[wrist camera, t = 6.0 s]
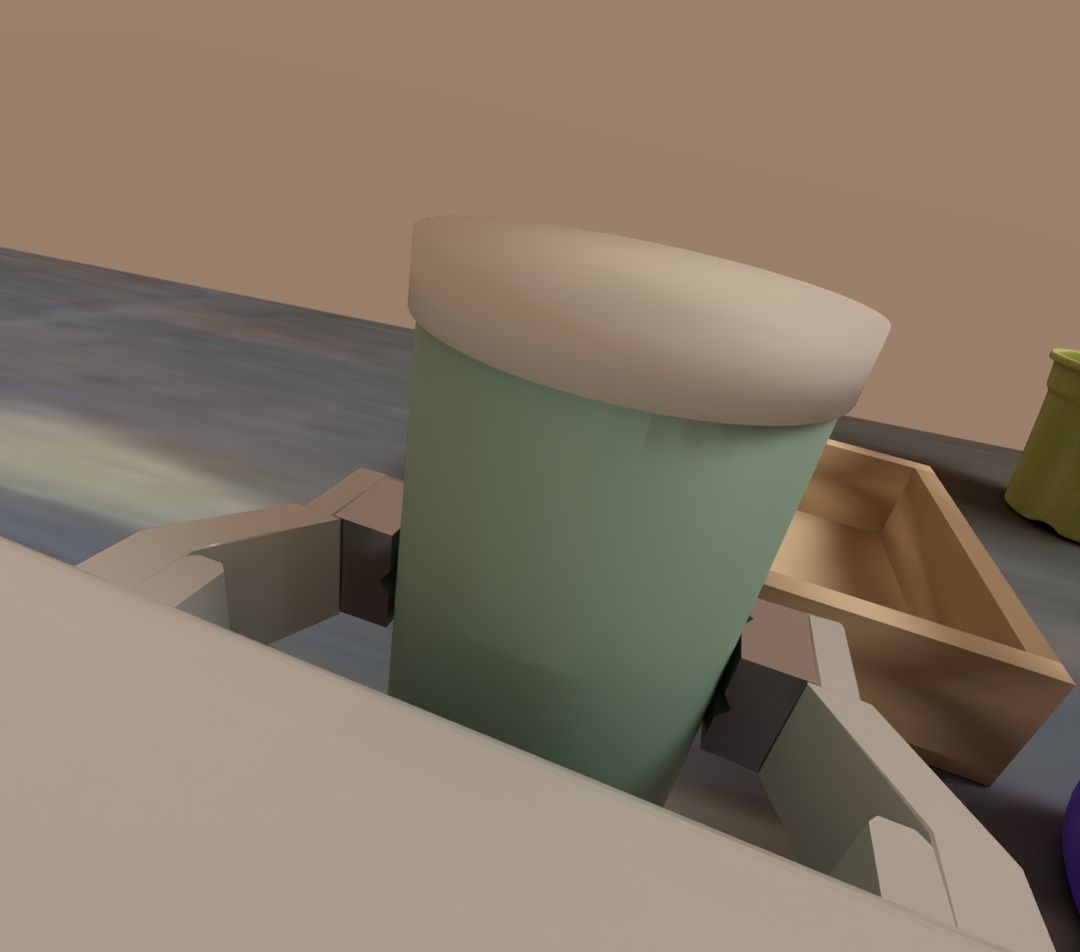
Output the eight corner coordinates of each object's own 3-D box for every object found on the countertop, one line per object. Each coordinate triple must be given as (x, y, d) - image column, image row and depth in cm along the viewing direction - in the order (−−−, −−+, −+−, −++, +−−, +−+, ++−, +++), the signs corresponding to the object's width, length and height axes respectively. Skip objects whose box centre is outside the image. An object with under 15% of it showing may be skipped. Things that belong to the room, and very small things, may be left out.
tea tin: (637, 800, 14) (850, 285, 8) (586, 1079, 10) (962, 386, 4) (441, 719, 15) (513, 211, 9) (312, 938, 11) (299, 223, 5)
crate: (889, 540, 28) (930, 466, 26) (989, 786, 16) (1076, 684, 14) (541, 436, 31) (555, 364, 30) (417, 579, 20) (426, 475, 18)
